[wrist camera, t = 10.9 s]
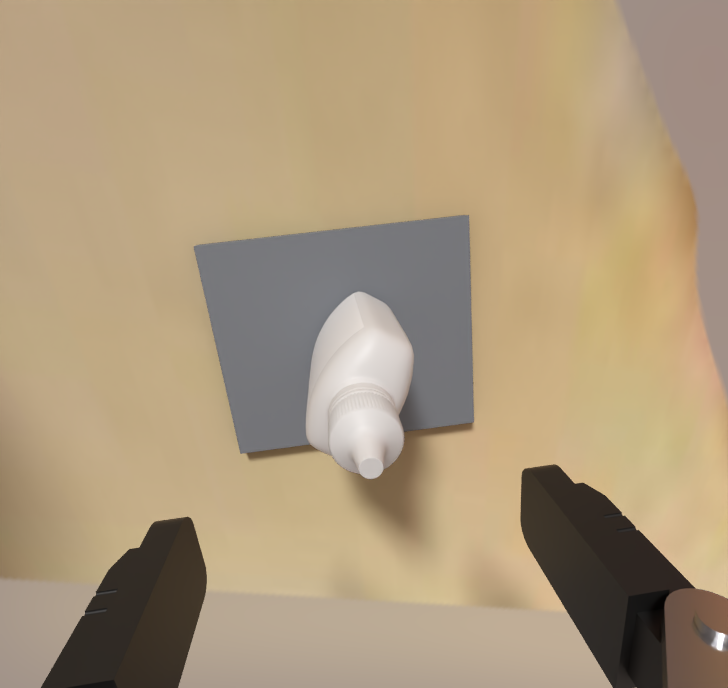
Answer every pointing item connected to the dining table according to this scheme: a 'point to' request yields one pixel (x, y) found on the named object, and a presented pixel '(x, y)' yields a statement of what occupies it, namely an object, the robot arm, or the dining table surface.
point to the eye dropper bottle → (359, 386)
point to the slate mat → (320, 298)
